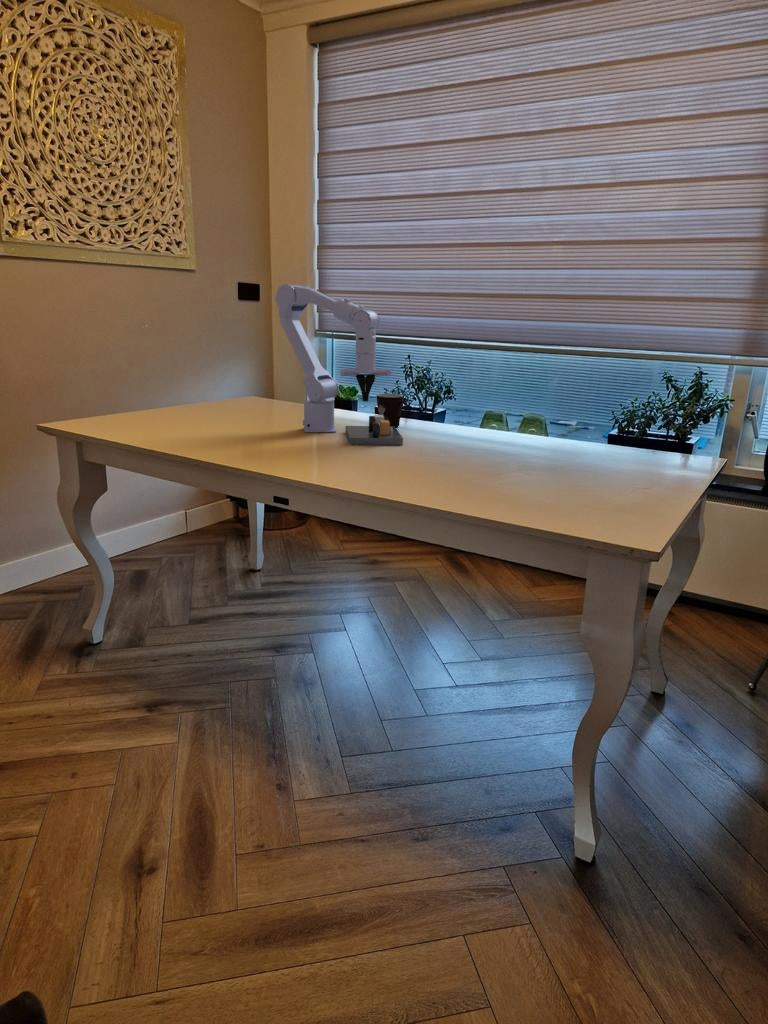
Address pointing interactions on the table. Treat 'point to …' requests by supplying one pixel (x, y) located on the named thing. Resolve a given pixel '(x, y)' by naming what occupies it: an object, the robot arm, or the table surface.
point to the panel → (372, 434)
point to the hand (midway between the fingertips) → (365, 401)
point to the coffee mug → (391, 407)
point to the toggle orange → (384, 427)
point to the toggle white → (379, 418)
